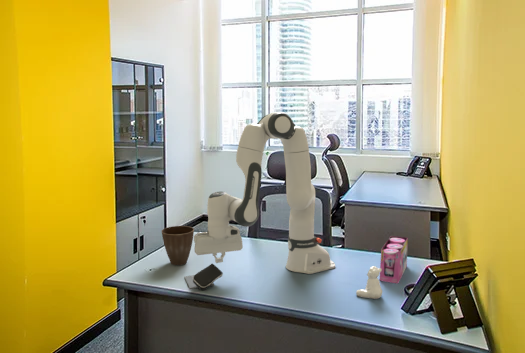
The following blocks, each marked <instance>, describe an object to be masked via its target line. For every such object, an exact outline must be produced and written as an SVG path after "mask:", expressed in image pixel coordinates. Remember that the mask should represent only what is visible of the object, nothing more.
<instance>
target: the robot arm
mask: <svg viewBox="0 0 525 353" xmlns="http://www.w3.org/2000/svg"><path fill="white" fill-rule="evenodd" d="M270 139H273V140H274V139H276V140H278V139H279V141H281V144H282V146H283V147H282V148H283V156H284V157H283V158H284V165H285V166H284V167H285V186H286V187H285V189H286V190H285V191H286V204H288V206H289V208H290V210H289V218H288V220H289V221H288V238H287V247H288V255H287V259H286V260H287V261H286V264H285V268H286V269H287V270H289V271H290V272H291V271H292V272H294V273H304V274H308V275H312V274H315V273H319V272H323V271H327V270H331V269H332V270H333V269H335V268H336V264H335V262H334V261H333V260H331V256H330V253H329V252H328V251H327V250H326V249H325V248H324V247H322V246H321V245H320V244H321V243H322V239H321V238H320V237H316V236H315V212H316V210H315V209H316V188H315V185H314V184H313V183H312V166H311V164H312V163H311V158H310V157H311V156H310V155H311V154H310V148H309V142H308V138H307V134H306V131H305V129H304V128H303V127H301V126H299V125H296V124H295V123H294V121H293V119H292V118H291V116H290V115H288V113H285V112H283V111H278V112H275V111H274V112H270V113H269V114H265V115H264V116H263V117H262V118H260V120H259V121H258V122H257V123H250V124H246V126H244V129H243V131H242V133H241V136H240V138H239V142H238V144H237V146H238V147H237V149H236V150H237V151H236V155H235V159H236V164H237V166H238V168H240V170H241V171H242V173H243V176H244V178H245V179H244V180H245V182H244V189H243V190H244V191H243V198H240V197H236V196H233V195H231V194H228V193H227V191H216V192H213V193H211V194H210V195H209V196H208V198H207V204H206V206H207V209H206V210H207V217H208V218H207V219H208V220H207V231H203V232H197V233H196V234H194V235H193V242H194V254H196V255H197V256H203V255H210V254H211V255H212V256H213V258H214V261H215V263H216V264H218V263H220V264H221V263H224V257H225V256H226V253H229V252H238V251H242V249H243V247H244V246H243V245H244V244H243V238H242V236H241V231H240V228H238V227H237V226H235V225H232V224H230V221H234V222H236V223H237V224H239V225H240V226H241V227H245V228H248V227H251V226H253V225H254V224H256V223H257V221H258V219H259V217H260V206H259V199H260V191H261V190H260V189H261V185H262V184H261V183H262V182H261V181H262V174H263V172H262V164H263V163H262V162H263V156H264V151H265V147H266V146H265V145H266V143H267V142H268V140H270ZM218 254H221V255H220V256H219V257H217V256H218Z"/></svg>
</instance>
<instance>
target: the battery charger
mask: <svg viewBox="0 0 525 353" xmlns="http://www.w3.org/2000/svg"><path fill="white" fill-rule="evenodd" d="M193 275H194V277H193V283H194V284H195V285H196V286H197V287H198V288H197V289H199V290H200V291H205V290H207V289H208V288H209V287H212V286H211V285H212V283H214V282H216V281H217V280H218V279H220V278H221V277H223V275H224V273H223V272H222V271H221V270H220V268H219V267H217V266H216V265H215V264H214V263H210V264H209V265H208V266H206V267H205V268H202V269H201V270H200V271H198V272H196V274H193Z"/></svg>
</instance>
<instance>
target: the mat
mask: <svg viewBox="0 0 525 353" xmlns="http://www.w3.org/2000/svg"><path fill="white" fill-rule="evenodd" d="M194 275H195V274H193V275H187V276H186V275H185V276H184V280H185V282H186V284H187V286H188V288H189V290H193V289H199V288H198V287H197V286H196V285H195V284H194V283H193V277H194ZM214 286H215V283H214V282H213V283H212V285H211V286H210V287H214Z"/></svg>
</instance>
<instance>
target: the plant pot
mask: <svg viewBox="0 0 525 353" xmlns="http://www.w3.org/2000/svg"><path fill="white" fill-rule="evenodd" d="M194 232H195V228H194V227H192V226H187V225H175V226H174V225H173V226H169V227H164V228H162V230H161V236H162V241H163V245H164V249H165V251H166V252H165V253H166V254H167V257H168V259H169V261H170V263H171V265H172V266H183V265H186V264H187V263H188V260H189V258H190V252H191V250H192V245H193V242H194V235H195V234H194Z"/></svg>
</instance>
